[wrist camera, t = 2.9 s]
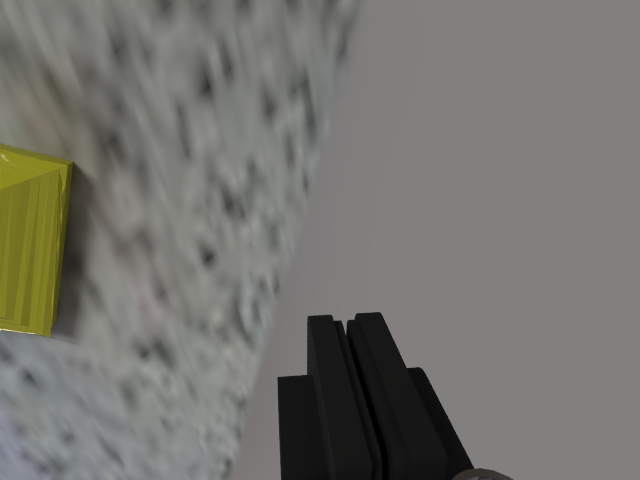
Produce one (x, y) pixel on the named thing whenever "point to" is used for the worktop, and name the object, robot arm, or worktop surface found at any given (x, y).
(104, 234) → the worktop surface
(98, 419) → the worktop surface
